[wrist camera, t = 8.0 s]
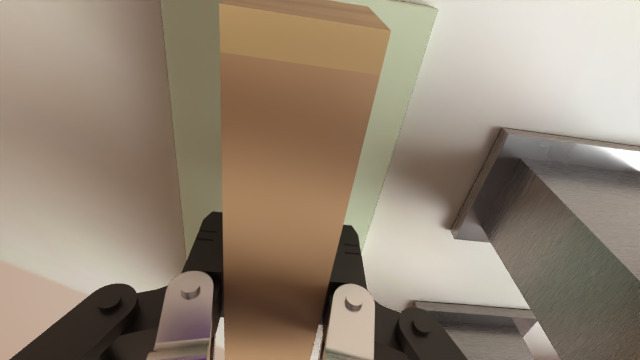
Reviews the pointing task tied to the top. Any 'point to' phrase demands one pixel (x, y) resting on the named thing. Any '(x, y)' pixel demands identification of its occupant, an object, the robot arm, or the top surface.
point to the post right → (565, 236)
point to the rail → (289, 160)
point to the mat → (205, 104)
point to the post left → (484, 329)
